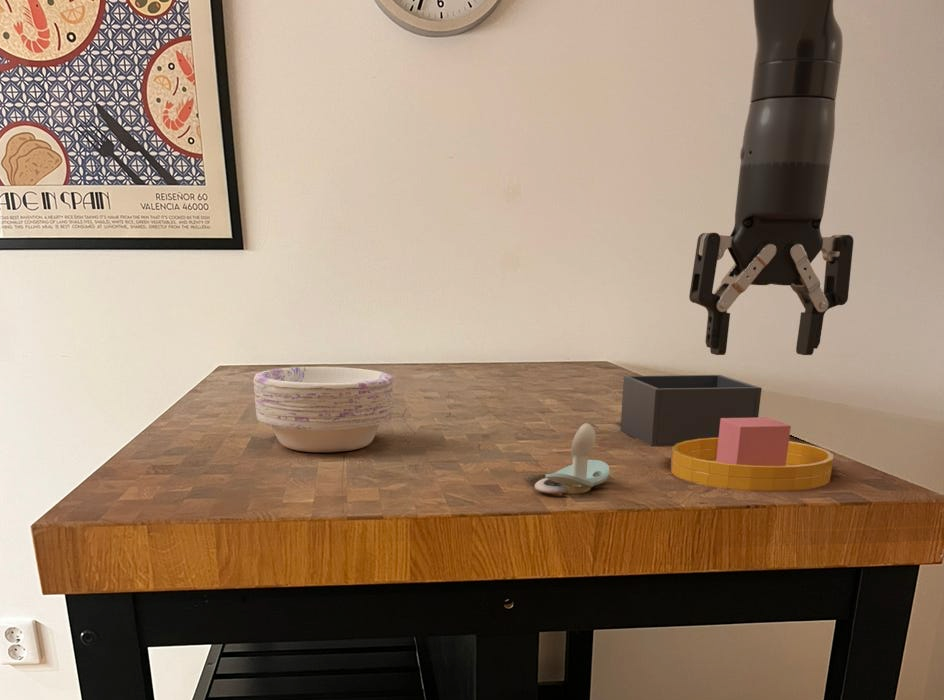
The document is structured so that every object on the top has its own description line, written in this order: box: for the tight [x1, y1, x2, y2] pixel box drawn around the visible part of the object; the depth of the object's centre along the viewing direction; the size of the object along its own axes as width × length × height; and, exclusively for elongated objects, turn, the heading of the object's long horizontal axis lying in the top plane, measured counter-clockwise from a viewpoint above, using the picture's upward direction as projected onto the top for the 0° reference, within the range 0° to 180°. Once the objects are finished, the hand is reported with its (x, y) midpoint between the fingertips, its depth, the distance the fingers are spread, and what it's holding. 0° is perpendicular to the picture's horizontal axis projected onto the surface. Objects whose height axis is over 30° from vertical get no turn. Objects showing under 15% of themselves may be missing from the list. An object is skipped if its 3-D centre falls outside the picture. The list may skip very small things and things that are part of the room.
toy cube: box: [716, 416, 792, 466], centre depth 93 cm, size 5×5×5 cm
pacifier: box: [534, 422, 611, 495], centre depth 87 cm, size 7×6×6 cm
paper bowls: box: [253, 366, 394, 453], centre depth 107 cm, size 15×15×8 cm
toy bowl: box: [670, 437, 835, 492], centre depth 94 cm, size 15×15×2 cm
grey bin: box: [620, 374, 762, 448], centre depth 112 cm, size 12×12×6 cm
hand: (761, 354), depth 90 cm, fingers open, 8 cm apart
